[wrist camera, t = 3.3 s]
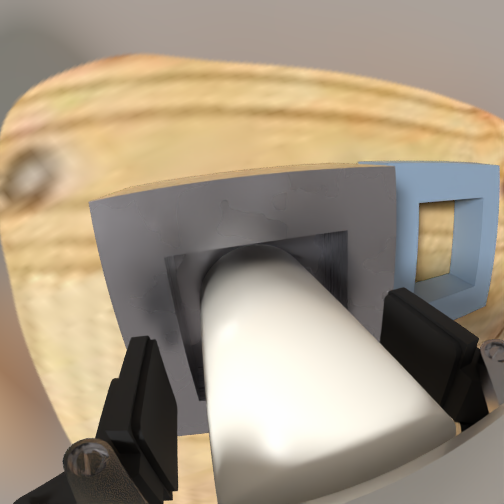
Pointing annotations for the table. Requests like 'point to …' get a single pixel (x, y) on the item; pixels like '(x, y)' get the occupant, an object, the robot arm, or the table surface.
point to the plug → (301, 387)
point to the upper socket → (236, 236)
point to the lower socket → (464, 235)
